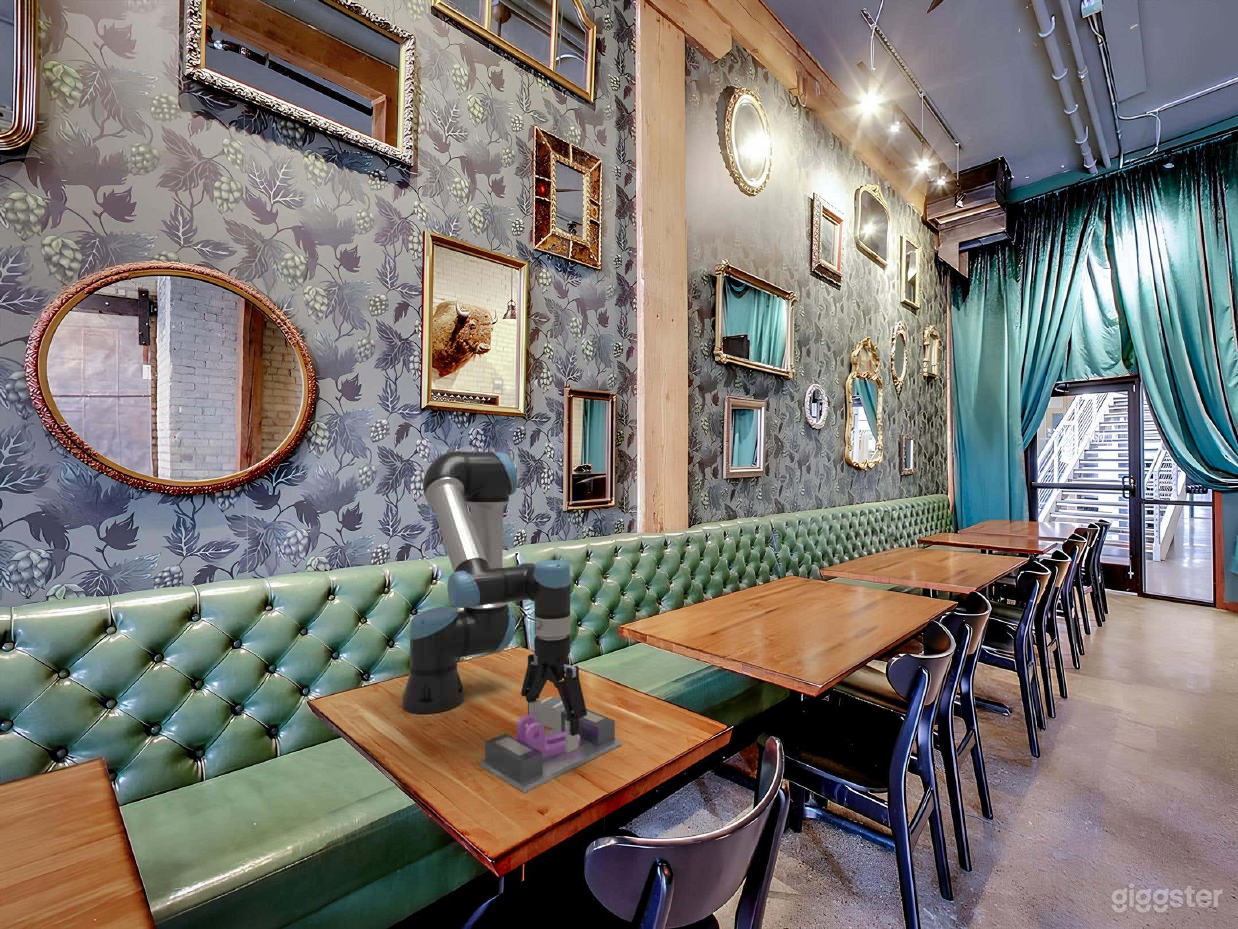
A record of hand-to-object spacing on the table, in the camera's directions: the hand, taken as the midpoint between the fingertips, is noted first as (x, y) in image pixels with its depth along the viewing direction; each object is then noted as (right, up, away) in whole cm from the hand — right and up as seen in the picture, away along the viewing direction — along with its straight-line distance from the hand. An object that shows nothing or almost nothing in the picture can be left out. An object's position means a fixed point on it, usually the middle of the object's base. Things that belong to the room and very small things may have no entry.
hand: (552, 740), depth 121 cm
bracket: (0, -2, 0) cm, 2 cm away
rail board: (0, -3, 0) cm, 3 cm away
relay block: (-2, -3, +15) cm, 16 cm away
